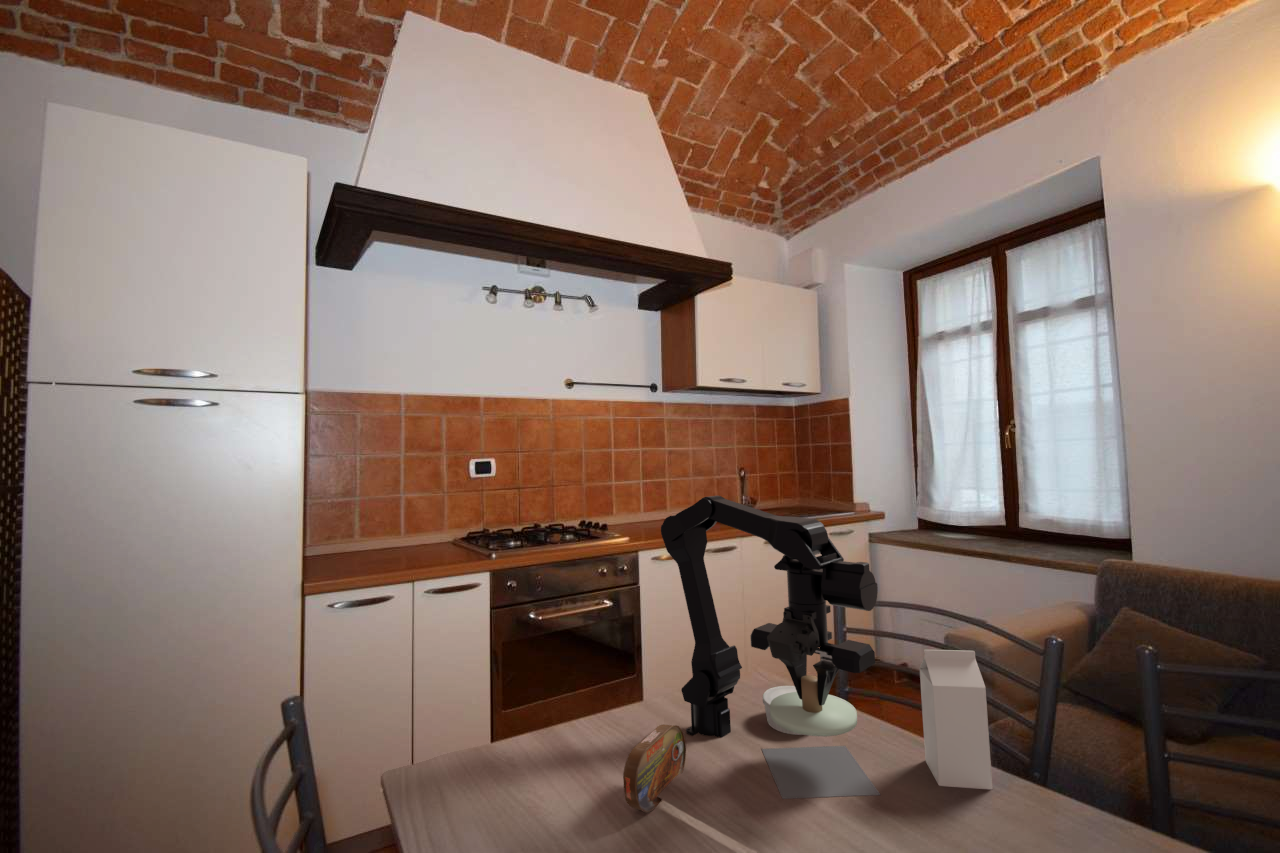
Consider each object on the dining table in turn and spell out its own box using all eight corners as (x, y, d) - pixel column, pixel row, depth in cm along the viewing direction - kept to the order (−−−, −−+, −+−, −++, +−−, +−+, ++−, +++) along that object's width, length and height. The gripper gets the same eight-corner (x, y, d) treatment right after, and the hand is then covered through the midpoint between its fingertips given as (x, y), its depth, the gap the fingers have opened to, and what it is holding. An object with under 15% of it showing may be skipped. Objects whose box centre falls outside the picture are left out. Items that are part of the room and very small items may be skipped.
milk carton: (993, 795, 82) (983, 659, 83) (939, 791, 83) (930, 657, 85) (974, 768, 89) (966, 643, 90) (925, 765, 90) (917, 642, 92)
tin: (639, 825, 78) (637, 761, 79) (620, 818, 80) (618, 756, 80) (688, 771, 91) (686, 717, 92) (671, 767, 93) (669, 713, 93)
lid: (753, 717, 90) (752, 680, 90) (797, 692, 99) (796, 658, 99) (831, 745, 80) (829, 704, 81) (872, 714, 89) (870, 677, 90)
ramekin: (804, 748, 97) (802, 716, 97) (751, 727, 105) (749, 697, 106) (838, 726, 104) (837, 697, 105) (786, 708, 113) (785, 680, 113)
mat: (782, 804, 82) (782, 798, 82) (761, 753, 96) (761, 748, 96) (880, 800, 82) (880, 794, 82) (845, 750, 96) (845, 745, 96)
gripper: (728, 601, 92) (732, 701, 91) (838, 622, 78) (844, 740, 77) (767, 588, 99) (771, 680, 99) (873, 606, 86) (879, 712, 85)
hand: (812, 701), depth 90 cm, fingers closed on lid, 3 cm apart
